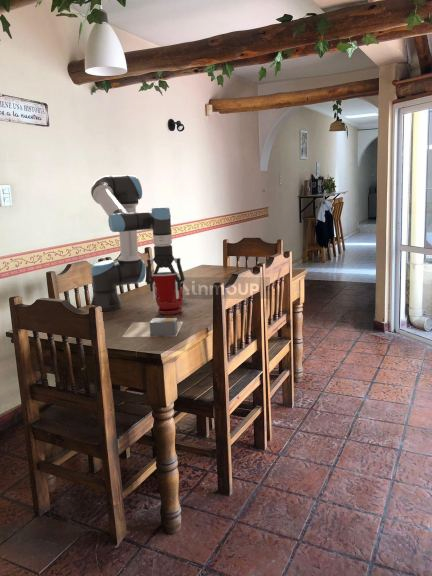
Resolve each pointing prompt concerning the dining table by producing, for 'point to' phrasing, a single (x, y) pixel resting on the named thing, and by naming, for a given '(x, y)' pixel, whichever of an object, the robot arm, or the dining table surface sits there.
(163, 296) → the plastic cup
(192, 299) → the dining table surface
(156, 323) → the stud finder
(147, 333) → the plywood panel
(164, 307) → the plant pot
